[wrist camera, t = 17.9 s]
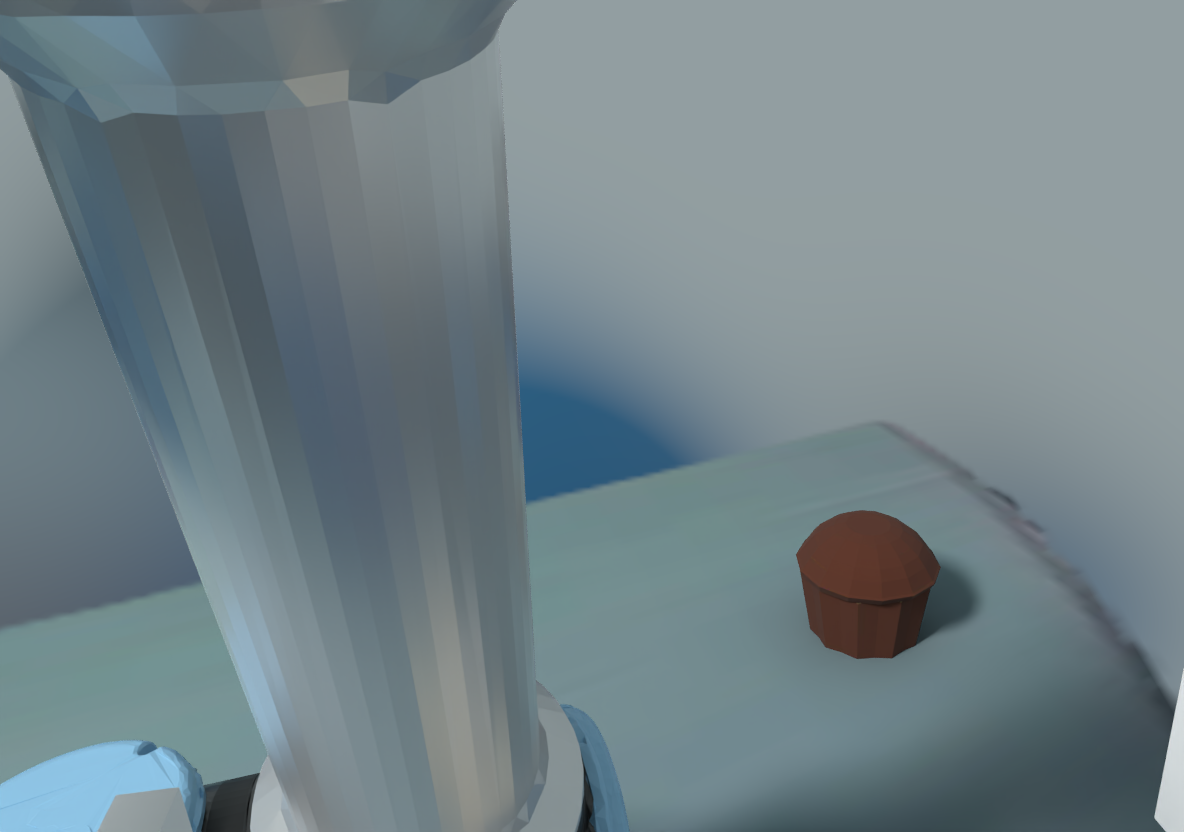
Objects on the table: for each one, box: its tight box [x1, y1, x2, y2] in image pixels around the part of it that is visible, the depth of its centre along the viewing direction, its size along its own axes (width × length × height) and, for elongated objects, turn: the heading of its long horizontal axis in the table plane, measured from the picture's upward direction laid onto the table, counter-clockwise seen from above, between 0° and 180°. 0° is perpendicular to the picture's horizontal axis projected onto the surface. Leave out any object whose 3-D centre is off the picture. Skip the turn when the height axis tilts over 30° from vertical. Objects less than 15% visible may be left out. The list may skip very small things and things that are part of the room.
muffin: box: [796, 510, 940, 659], centre depth 77 cm, size 12×11×10 cm
